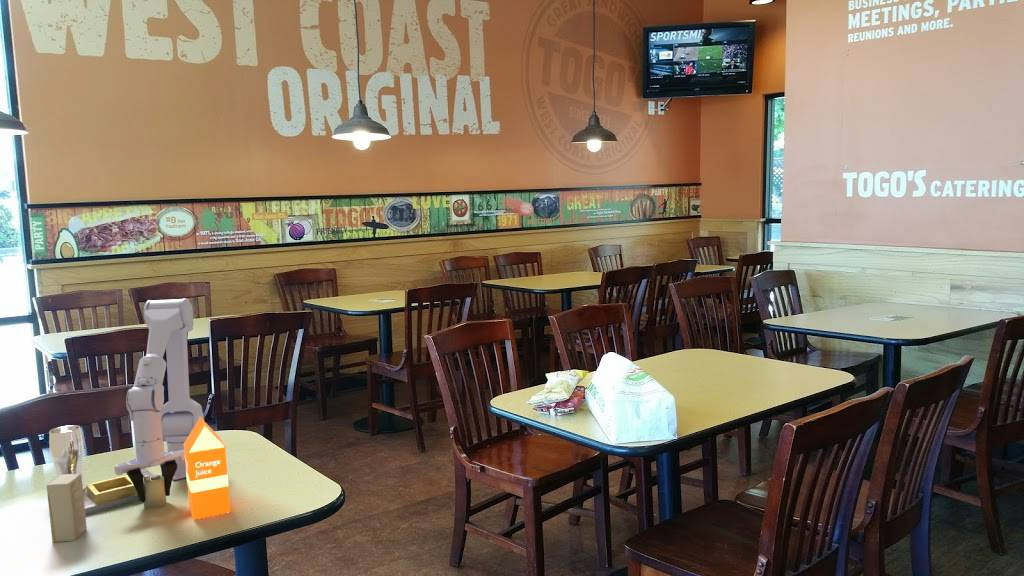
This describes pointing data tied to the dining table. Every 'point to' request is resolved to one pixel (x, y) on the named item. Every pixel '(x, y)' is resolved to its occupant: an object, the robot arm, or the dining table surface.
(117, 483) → the grey metal fixture plate
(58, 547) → the dining table surface
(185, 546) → the dining table surface
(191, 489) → the orange juice
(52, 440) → the beer glass
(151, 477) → the spout can
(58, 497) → the skincare box
